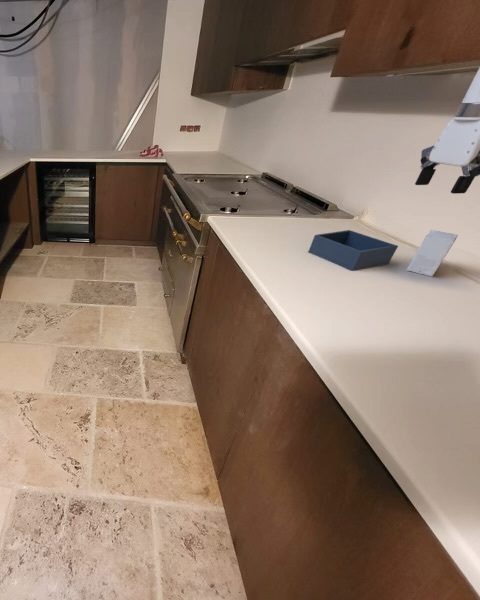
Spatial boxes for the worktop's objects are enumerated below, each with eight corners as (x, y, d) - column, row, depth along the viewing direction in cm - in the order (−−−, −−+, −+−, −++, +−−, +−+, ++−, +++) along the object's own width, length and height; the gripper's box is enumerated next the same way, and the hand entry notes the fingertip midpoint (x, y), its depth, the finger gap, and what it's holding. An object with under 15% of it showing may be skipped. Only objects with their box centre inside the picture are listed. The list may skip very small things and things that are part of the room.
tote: (341, 246, 108) (349, 229, 105) (388, 264, 96) (398, 245, 93) (308, 251, 104) (314, 234, 101) (352, 270, 93) (361, 252, 90)
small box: (432, 277, 89) (455, 241, 83) (405, 270, 92) (425, 235, 87) (436, 269, 93) (459, 234, 87) (411, 262, 97) (431, 229, 91)
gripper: (542, 112, 67) (489, 196, 75) (458, 111, 81) (422, 181, 90) (506, 113, 67) (457, 197, 75) (428, 112, 81) (395, 182, 90)
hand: (438, 188), depth 83 cm, fingers open, 9 cm apart
